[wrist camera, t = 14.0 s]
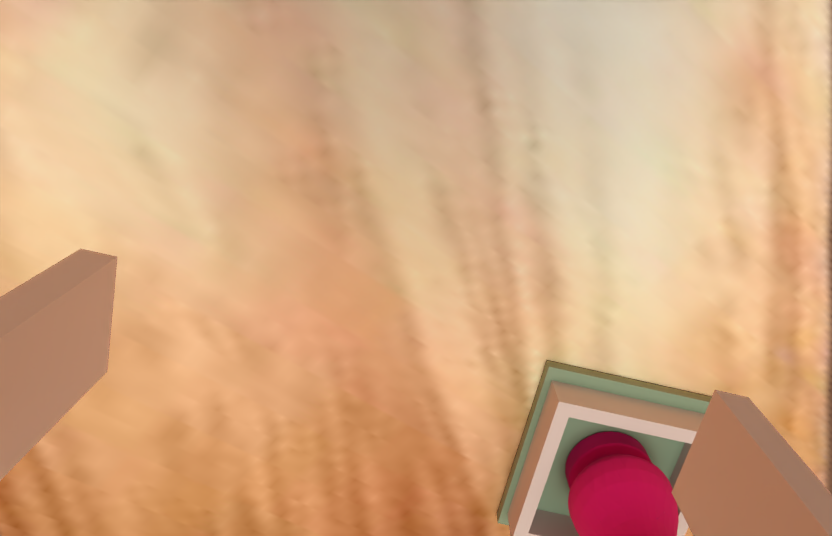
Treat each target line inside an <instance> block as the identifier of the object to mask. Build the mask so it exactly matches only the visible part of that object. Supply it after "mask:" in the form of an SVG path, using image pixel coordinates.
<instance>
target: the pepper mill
mask: <svg viewBox="0 0 832 536" xmlns="http://www.w3.org/2000/svg"><path fill="white" fill-rule="evenodd" d="M565 474H566V479H567V482H568V485H569V488H570V491H569V497H568V509H569V513H570V517H571V519H572V522H573V524H574V527H575V529H576V531H577V533H578V534H579V535H580V536H677V530H678V523H679V517H678V506H677V502H676V500H675V499H674V497H673V495H672V493H671V492H672V490H673V489H672V486H671V484H670V482H669V480H668V478H667V477H666V475H665V474H664V473H663V472H662V471H661V470H660V469H659V468H658V467H657V466H655V465H654V464H653V463H652V462H651V460H650V458H649V456H648V454H647V452H646V450H645V449H644V447H643V446H642V445H641V443H640V442H638V441H637V440H636V439H634V438H633V437H631V436H629V435H626V434H623V433H620V432H611V431H609V432H600V433H596V434H593V435H591V436H588V437H587V438H585V439H583V440H581V441H580V442H579V443H578V444H577V445H576V446H575V447H574V448H573V449H572V450H571V452H570V454H569V456H568V458H567V461H566V466H565Z"/></svg>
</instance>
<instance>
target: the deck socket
mask: <svg viewBox="0 0 832 536" xmlns="http://www.w3.org/2000/svg"><path fill="white" fill-rule="evenodd" d="M711 398H712V397H710V396H706V395H701V394H697V393H692V392H688V391H683V390H679V389H674V388H670V387H665V386H661V385H656V384H652V383H647V382H643V381H638V380H634V379H629V378H625V377H620V376H616V375H611V374H607V373H602V372H598V371H593V370H589V369H584V368H580V367H575V366H571V365H566V364H562V363H557V362H553V361H548V360H547V362H546V365H545V368H544V371H543V374H542V377H541V380H540V383H539V386H538V389H537V392H536V395H535V399H534V402H533V405H532V408H531V411H530V414H529V417H528V420H527V423H526V426H525V429H524V432H523V435H522V438H521V441H520V445H519V448H518V451H517V454H516V457H515V460H514V463H513V466H512V469H511V472H510V475H509V478H508V481H507V484H506V487H505V490H504V494H503V497H502V500H501V503H500V506H499V509H498V512H497V521H498V523H500V524H505V525H509V528H510V535H511V536H580V535H579V534H578V533H577V531H576V529H575V527H574V524H573V522H572V519H571V517H570V513H569V509H568V497H569V491H570V488H569V485H568V482H567V479H566V474H565V466H566V461H567V458H568V456H569V454H570V452H571V450H572V449H573V448H574V447H575V446H576V445H577V444H578V443H579V442H580V441H581V440H583V439H585V438H587V437H588V436H591V435H593V434H596V433H600V432H609V431H611V432H620V433H623V434H626V435H629V436H631V437H633V438H634V439H636V440H637V441H638V442H640V443H641V445H642V446H643V447H644V449H645V450H646V452H647V454H648V456H649V458H650V460H651V462H652V463H653V464H654V465H655V466H657V467H658V468H659V469H660V470H661V471H662V472H663V473H664V474H665V475H666V477H667V478H668V480H669V482H670V484H671V486H672V489H673V488H674V485H675V483H676V481H677V478H678V476H679V474H680V471H681V469H682V466H683V464H684V462H685V459H686V457H687V455H688V452H689V450H690V448H691V445H692V443H693V441H694V438H695V436H696V433H697V431H698V429H699V426H700V424H701V422H702V419H703V417H704V415H705V412H706V410H707V408H708V405H709V403H710V400H711ZM677 506H678V504H677ZM678 517H679V523H678V530H677V536H685V534H686V531H687V529H688V527H689V526H688V524H687V522H686V520H685V518H684V516H683V514H682V512H681V510H680V508H679V506H678Z"/></svg>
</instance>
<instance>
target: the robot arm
mask: <svg viewBox="0 0 832 536" xmlns="http://www.w3.org/2000/svg"><path fill="white" fill-rule="evenodd" d="M116 266H117V257H116V256H111V255H107V254H102V253H98V252H93V251H89V250H84V249H80V250H78V251H76V252H75V253H73V254H71V255H70V256H68V257H66V258H65V259H63V260H61V261H60V262H58V263H56V264H55V265H53V266H51V267H50V268H48V269H46V270H45V271H43V272H41V273H40V274H38V275H36V276H35V277H33V278H31V279H30V280H28V281H26V282H25V283H23V284H21V285H20V286H18V287H16V288H15V289H13V290H11V291H10V292H8V293H6V294H5V295H3V296H1V297H0V480H1V479H2V478H3V477H4V476H5V475H6V474H7V473H8V472H9V471H10V470H11V469H12V468H13V467H14V466H15V465H16V464H17V463H18V462H19V461H20V460H21V459H22V458H23V457H24V456H25V455H26V454H27V453H28V452H29V451H30V450H31V449H32V448H33V447H34V446H35V445H36V444H37V443H38V442H39V441H40V440H41V439H42V437H43V436H44V435H45V434H46V433H47V432H48V431H49V430H50V429H51V428H52V427H53V426H54V425H55V424H56V423H57V422H58V421H59V420H60V419H61V418H62V417H63V416H64V415H65V414H66V413H67V412H68V411H69V410H70V409H71V408H72V407H73V406H74V405H75V404H76V403H77V402H78V401H79V400H80V399H81V398H82V397H83V396H84V395H85V394H86V393H87V392H88V391H89V390H90V389H91V388H92V386H93V385H94V384H95V383H96V382H97V381H98V380H99V379H100V378H101V377H102V376H103V375H104V374H105V373H106V372H107V369H108V357H109V346H110V335H111V323H112V312H113V300H114V289H115V278H116ZM671 493H672V495H673V497H674V499H675V500H676V502H677V504H678V506H679V508H680V510H681V512H682V514H683V516H684V518H685V520H686V522H687V524H688V526H689V528H690V530H691V532H692V534H693V536H832V494H831V493H830V492H829V491H828V489H827V488H826V487H825V486H824V485H823V484H822V482H821V481H820V480H819V479H818V478H817V477H816V475H815V474H814V473H813V472H812V471H811V470H810V468H809V467H808V466H807V465H806V464H805V463H804V461H803V460H802V459H801V458H800V457H799V456H798V454H797V453H796V452H795V451H794V450H793V449H792V448H791V446H790V445H789V444H788V443H787V442H786V441H785V439H784V438H783V437H782V436H781V435H780V434H779V432H778V431H777V430H776V429H775V428H774V427H773V425H772V424H771V423H770V422H769V421H768V420H767V418H766V417H765V416H764V415H763V414H762V413H761V411H760V410H759V409H758V408H757V407H756V406H755V404H754V403H753V402H752V401H751V400H750V399H749V398H748V397H745V396H740V395H736V394H731V393H727V392H722V391H718V390H715V391H714V393H713V396H712V398H711V400H710V403H709V405H708V408H707V410H706V412H705V415H704V417H703V419H702V422H701V424H700V426H699V429H698V431H697V433H696V436H695V438H694V441H693V443H692V445H691V448H690V450H689V452H688V455H687V457H686V459H685V462H684V464H683V466H682V469H681V471H680V474H679V476H678V478H677V481H676V483H675V485H674V488H673V490H672V492H671Z"/></svg>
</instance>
